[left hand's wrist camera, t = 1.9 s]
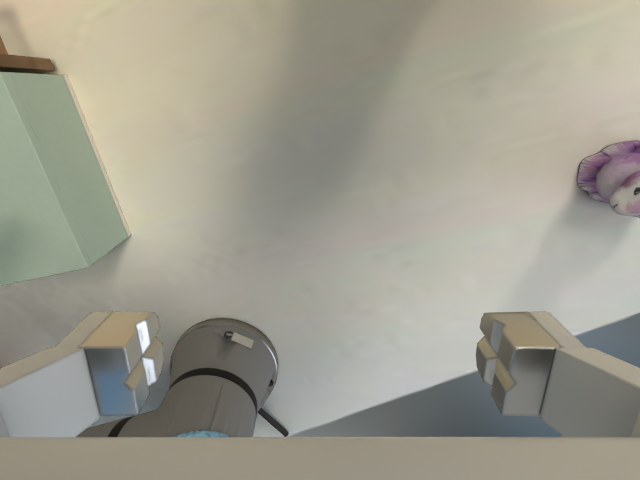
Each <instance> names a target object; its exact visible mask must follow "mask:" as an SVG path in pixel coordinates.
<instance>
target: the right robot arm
mask: <svg viewBox="0 0 640 480" xmlns="http://www.w3.org/2000/svg"><path fill="white" fill-rule="evenodd" d="M277 372H278V358H277V354H276V351H275V349H274V347H273V345H272V344H271V342H270V341H269V340H268V338H267V337H266V336H265V335H264V334H263V333H261V332H260V331H259V330H258V329H256V328H254V327H253V326H251V325H249V324H246V323H244V322H241V321H237V320H233V319H211V320H207V321H204V322H201V323H198V324H196V325H195V326H193V327H191V328H190V329H189V330H187V331H186V332H185V333H184V334H183V335H182V337H181V338H180V340H179V341H178V343H177V345H176V347H175V348H174V351H173V353H172V356H171V361H170V376H171V377H170V386H169V390H168V392H167V394H166V396H165V398H164V400H163V402H162V403H161V405H160V407H159V408H157V409H156V410H154V411H150V412H147V413H143V414H139V415H136V416H132V417H128V418H124V419H120V420H116V421H113V422H109V423H105V424H102V425H98V426H94V427H90V428H87V429H85V430H84V431H83V432H81V433H80V434H79V435H78V436H76V437H253V431H254V426H255V421H256V415H257V412H258V413H259V414H260V415H261V416H262V417H263V418H264V419H266V420H267V421H268V422H269V423H270V424H271V425H272V426H274V427H275V428H276V429H277V430H278V431H279V432H281V433H282V434H283V435H284V436H285V437H286V436H288V434H289V433H288V432H287V431H286V430H285V429H284V428H283V427H282V426H281V425H280V424H279V423H277V422H276V421H275V420H274V419H273V418H272V417H271V416H270V415H268V414H267V413H266V412H265V411H264V410H263V409H262V408H261V407H262V405H263V404H264V402H265V401H266V399H267V398H268V396H269V395H270V393H271V392H272V390H273V388H274V386H275V383H276V379H277Z"/></svg>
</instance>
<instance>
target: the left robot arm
mask: <svg viewBox="0 0 640 480" xmlns="http://www.w3.org/2000/svg"><path fill="white" fill-rule="evenodd" d="M159 329H160V324H159V319H158V316H157V315H156V314H155V312H113V311H100V312H91V313H89V314H88V315H87V316H86V317H85V318H84V319H83V320H82V321H81V322H80V323H79V324H78V325H77V326H76V327H75V328H74V329H73V330H72V331H71V332H70V333H69V334H68V335H67V336H66V337H65V338H64V339H63V340H62V341H61V342H60V343H59V344H57V345H56V346H55V347H54V348H46V349H44V350H42V351H39V352H37V353H35V354H32V355H30V356H28V357H25V358H23V359H21V360H18V361H16V362H14V363H11V364H9V365H7V366H4V367H2V368H0V480H640V368H638V367H636V366H633V365H631V364H629V363H626V362H624V361H622V360H619V359H617V358H615V357H612V356H610V355H608V354H605V353H603V352H601V351H598V350H596V349H594V348H586V347H585V346H584V345H583V344H581V343H580V342H579V341H578V340H577V339H576V338H575V337H574V336H573V335H572V334H571V333H570V332H569V331H568V330H567V329H566V328H565V327H564V326H563V325H562V324H561V323H560V322H559V321H558V320H557V319H556V318H555V317H554V316H553V315H552V314H551V313H549V312H546V311H535V312H495V313H484V314H483V316H482V318H481V323H480V329H481V331H482V332H483V334H484V335H485V336H484V337H483V338H482V339H481V340H480V341H479V342H478V343H477V349H476V362H477V368H478V371H479V374H480V376H481V378H482V380H483V382H485V383H487V384H488V385H490V386H491V387H492V388H491V396H492V398H493V400H494V401H495V403H496V405H497V407H498V409H499V410H500V412H501V414H502V415H516V416H540V418H541V419H542V420H543V421H544V422H546V423H547V424H548V425H550V426H551V427H552V428H554V429H555V430H556V431H557V432H559V433H560V434H561V435H563V436H564V437H76V436H78V435H79V434H80V433H81V432H83V431H84V430H85V429H87V428H88V427H89V426H91V425H92V424H93V423H94V422H96V421H97V420H98V419H100V416H123V415H138V414H139V412H140V410H141V409H142V407H143V405H144V403H145V402H146V400H147V398H148V396H149V388H148V387H149V386H150V385H152V384H153V383H155V382H156V381H157V380H158V378H159V376H160V374H161V371H162V367H163V363H164V349H163V343H162V342H161V341H160V340H159V339H158V338H157V337H156V336H155V335H156V334H157V332H158V331H159Z"/></svg>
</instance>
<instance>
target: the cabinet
mask: <svg viewBox="0 0 640 480" xmlns="http://www.w3.org/2000/svg"><path fill="white" fill-rule="evenodd" d="M129 236H131V233H130V230H129V228H128V225H127V223H126V220H125V218H124V215H123V213H122V210H121V208H120V205H119V203H118V200H117V198H116V195H115V193H114V190H113V188H112V185H111V183H110V180H109V178H108V175H107V173H106V170H105V168H104V165H103V163H102V160H101V158H100V155H99V153H98V150H97V148H96V145H95V143H94V140H93V138H92V135H91V133H90V130H89V128H88V125H87V123H86V120H85V118H84V115H83V113H82V110H81V108H80V105H79V103H78V100H77V98H76V95H75V93H74V90H73V88H72V85H71V83H70V80H69V78H68V75H51V74H32V73H13V72H0V286H4V285H8V284H13V283H18V282H23V281H28V280H32V279H37V278H42V277H47V276H52V275H57V274H61V273H66V272H71V271H76V270H81V269H85V268H89V267H90V266H91V265H92V264H94V263H95V262H96V261H98V260H99V259H100V258H102V257H103V256H104V255H105V254H107V253H108V252H109V251H111V250H112V249H113V248H115V247H116V246H117V245H118V244H120V243H121V242H122V241H124V240H125V239H126V238H128V237H129Z"/></svg>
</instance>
